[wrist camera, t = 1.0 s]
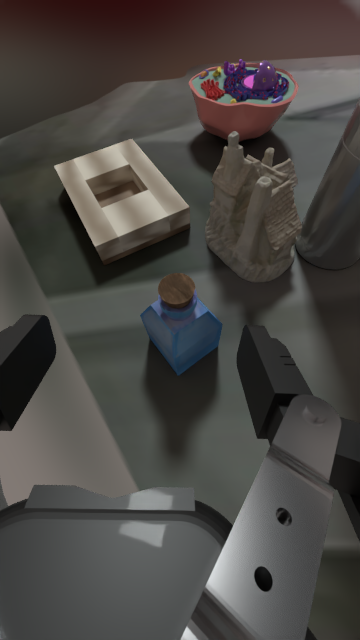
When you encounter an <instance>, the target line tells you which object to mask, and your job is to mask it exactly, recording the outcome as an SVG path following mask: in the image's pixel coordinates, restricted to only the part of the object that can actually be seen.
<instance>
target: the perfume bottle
mask: <svg viewBox="0 0 360 640" xmlns="http://www.w3.org/2000/svg"><path fill="white" fill-rule="evenodd" d="M158 292H159V296H158V298H159V300H157V301H156V302H154V303H153V304H151V305H150V306H149V307H148V308H147V309H146V310H145V311H144V312H143V313H142V314H141V315H140V316H141V318H142V321H143V323H144V326H145V328H146V330H147V333H148V335H149V338H150V339H151V340H152V342H153V343H154V344H155V346H156V347H157V348H158V350H159V351H160V352H161V354H162V355H163V356H164V358H165V359H166V360H167V362H168V363H169V364H170V366H171V367H172V368H173V370H174V371H175V372H176V374H177V375H178V376H179V375H180V374H181V373H183V372H184V371H185V370H187V369H188V368H189V367H191V366H192V365H193V364H195V363H196V362H197V361H199V360H200V359H201V358H203V357H204V356H206V355H207V354H208V353H210V352H211V351H212V350H214V349H215V348H216V347H218V344H219V339H220V334H221V329H222V323H221V322H220V321H219V320H218V319H217V318H216V317H215V316H214V314H213V313H212V312H211V311H210V310H209V309H208V308H207V307H206V306H205V305H204V304H203V303H202V302H201V301H200V300H199V298H198V297H197V293H196V290H195V284H194V282H193V280H192V279H191V278H190V277H189V276H187V275H185V274H182V273H174V274H170V275H168V276H166V277H164V278H163V279H162V280H161V282H160V283H159V286H158Z"/></svg>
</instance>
